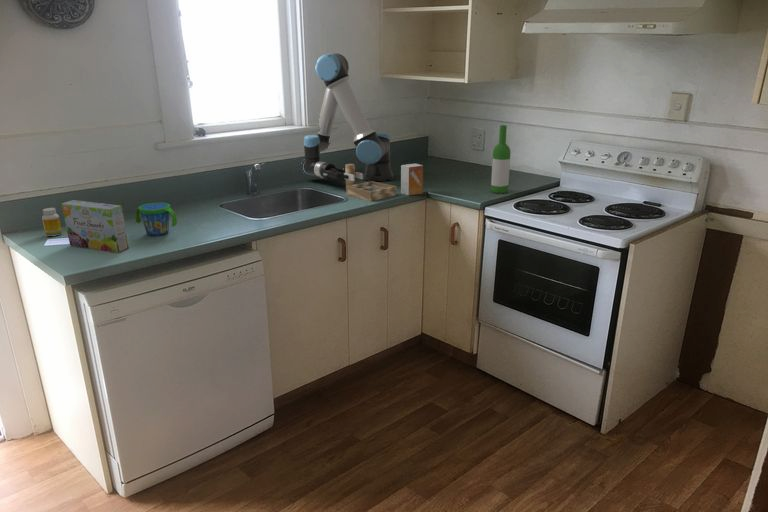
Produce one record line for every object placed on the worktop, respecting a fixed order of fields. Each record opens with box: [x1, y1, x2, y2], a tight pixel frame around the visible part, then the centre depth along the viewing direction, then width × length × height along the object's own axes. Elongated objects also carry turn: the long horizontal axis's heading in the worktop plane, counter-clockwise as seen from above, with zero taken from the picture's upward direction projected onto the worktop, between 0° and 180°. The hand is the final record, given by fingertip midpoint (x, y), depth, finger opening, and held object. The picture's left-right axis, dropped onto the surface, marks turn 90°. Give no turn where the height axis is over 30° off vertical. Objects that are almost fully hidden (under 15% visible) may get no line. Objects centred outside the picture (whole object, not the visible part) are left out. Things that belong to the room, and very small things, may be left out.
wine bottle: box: [490, 124, 511, 194], centre depth 266 cm, size 8×8×30 cm
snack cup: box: [134, 202, 178, 236], centre depth 211 cm, size 16×10×10 cm
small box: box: [400, 163, 424, 196], centre depth 267 cm, size 8×6×13 cm
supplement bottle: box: [41, 207, 63, 237], centre depth 210 cm, size 5×5×10 cm
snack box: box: [61, 199, 130, 254], centre depth 195 cm, size 21×6×15 cm, turn 69°
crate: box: [345, 181, 397, 202], centre depth 266 cm, size 16×16×4 cm
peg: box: [344, 163, 356, 187], centre depth 274 cm, size 4×4×12 cm
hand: (358, 177), depth 270 cm, fingers closed on peg, 4 cm apart
